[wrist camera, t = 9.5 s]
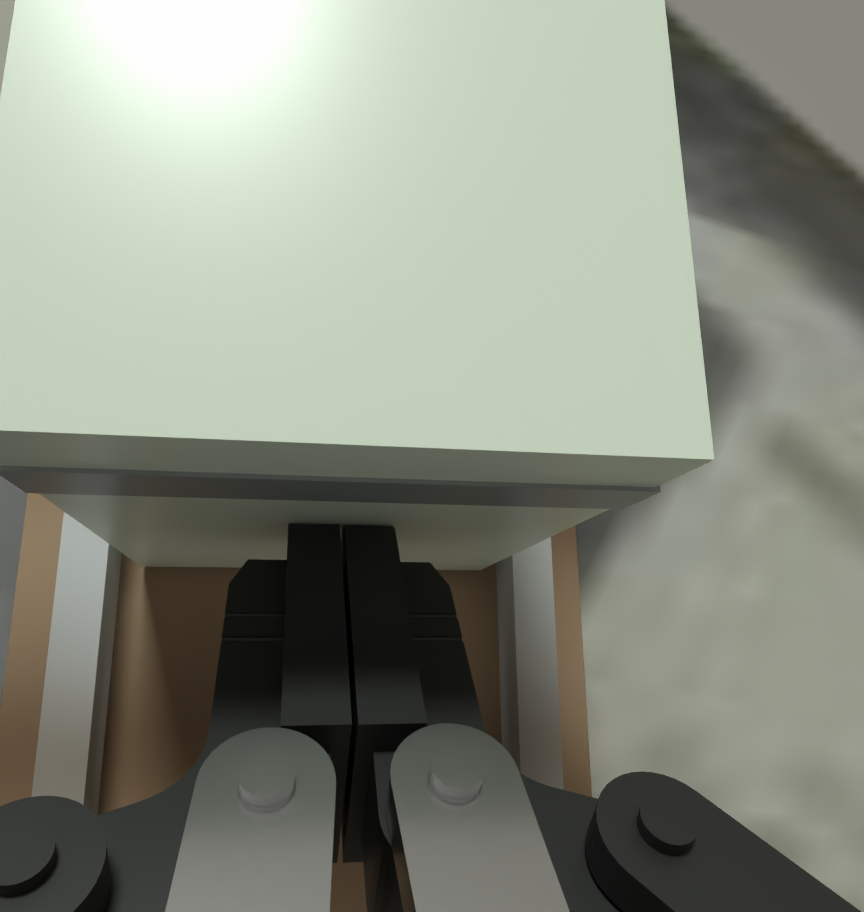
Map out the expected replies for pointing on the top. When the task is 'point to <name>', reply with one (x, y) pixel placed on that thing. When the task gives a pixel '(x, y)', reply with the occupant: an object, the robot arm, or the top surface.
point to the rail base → (196, 661)
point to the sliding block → (344, 271)
